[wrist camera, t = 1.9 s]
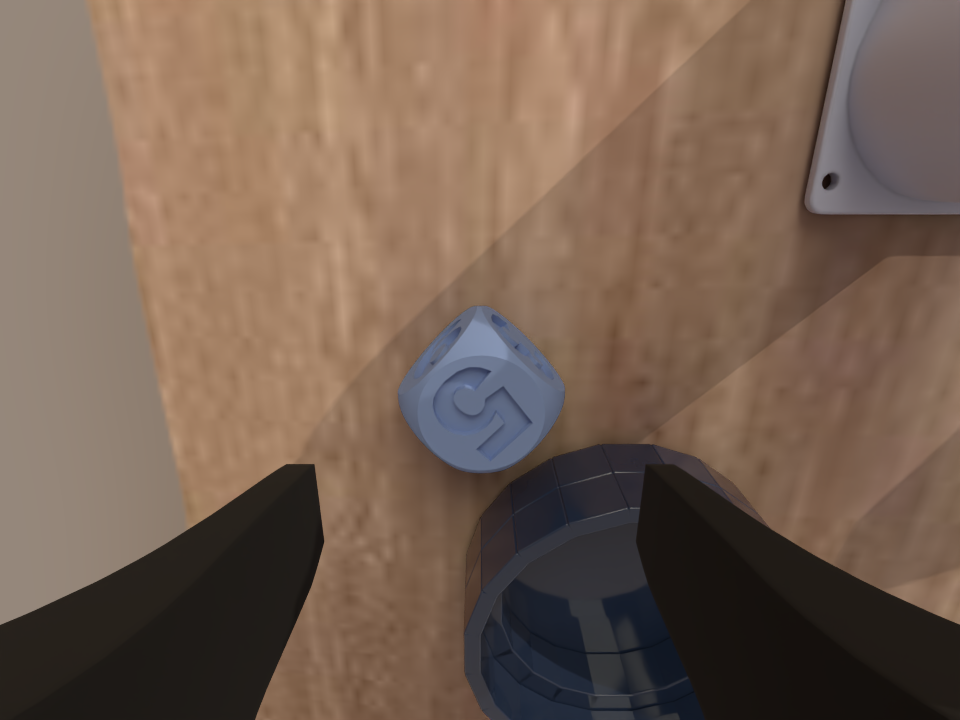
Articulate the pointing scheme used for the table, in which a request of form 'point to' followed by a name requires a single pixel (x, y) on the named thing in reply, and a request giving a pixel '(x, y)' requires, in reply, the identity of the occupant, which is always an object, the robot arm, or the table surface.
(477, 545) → the bowl
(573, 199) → the table surface
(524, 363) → the decorative dice
